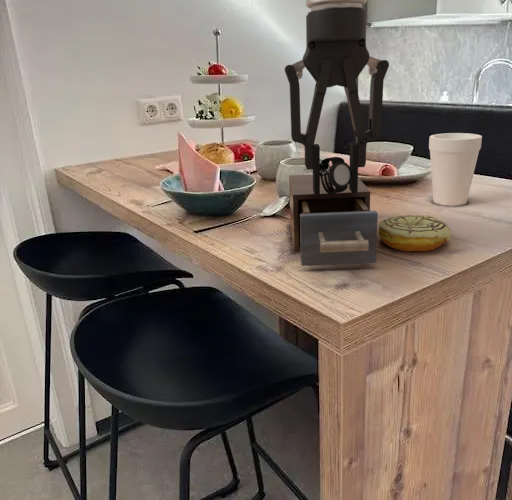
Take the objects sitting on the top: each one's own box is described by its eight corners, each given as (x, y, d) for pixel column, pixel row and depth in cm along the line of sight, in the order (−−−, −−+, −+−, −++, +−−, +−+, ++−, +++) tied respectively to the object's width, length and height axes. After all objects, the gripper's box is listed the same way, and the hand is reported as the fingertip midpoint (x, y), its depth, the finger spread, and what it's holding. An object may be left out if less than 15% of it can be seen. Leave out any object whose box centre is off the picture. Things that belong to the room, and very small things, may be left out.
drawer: (385, 279, 64) (387, 225, 62) (304, 282, 65) (303, 228, 62) (359, 233, 82) (360, 189, 80) (296, 235, 83) (295, 192, 80)
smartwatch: (325, 198, 68) (325, 161, 66) (316, 189, 73) (316, 155, 71) (354, 195, 69) (355, 159, 67) (343, 187, 73) (344, 153, 72)
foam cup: (470, 209, 95) (477, 140, 91) (421, 205, 100) (425, 139, 95) (477, 197, 103) (484, 133, 98) (431, 194, 107) (435, 132, 103)
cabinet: (368, 248, 78) (370, 191, 75) (294, 251, 78) (292, 194, 75) (353, 221, 92) (354, 172, 88) (290, 224, 92) (289, 175, 89)
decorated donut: (464, 247, 76) (466, 223, 75) (406, 259, 73) (408, 235, 72) (419, 229, 86) (421, 207, 84) (366, 239, 82) (366, 217, 81)
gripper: (399, 8, 66) (391, 182, 74) (266, 15, 66) (272, 187, 74) (415, 1, 59) (404, 195, 67) (266, 9, 59) (272, 200, 67)
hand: (334, 190), depth 71 cm, fingers closed on smartwatch, 4 cm apart
